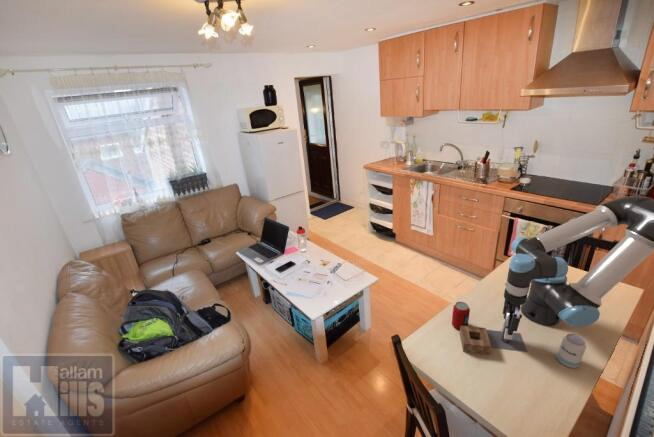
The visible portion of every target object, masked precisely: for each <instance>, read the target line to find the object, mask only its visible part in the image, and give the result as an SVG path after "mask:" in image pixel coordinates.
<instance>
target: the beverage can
mask: <svg viewBox="0 0 654 437" xmlns="http://www.w3.org/2000/svg"><path fill="white" fill-rule="evenodd" d="M470 310H471V309H470V307H469V304H467V303H466V302H464V301H457V302H456V303H455V304H454V305H453V308H452V316H451V325H452V327H453V328H455V329H456V330H459V331H460V326H469V320H470V314H471V313H470V312H471V311H470Z"/></svg>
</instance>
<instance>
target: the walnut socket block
mask: <svg viewBox="0 0 654 437" xmlns="http://www.w3.org/2000/svg"><path fill="white" fill-rule="evenodd" d="M486 330H487V328H486V327H478V326H469V325H468V326H460V330H459V337H460V342H461V348H462V352H463V353H469V354H470V353H471V354H479V355H486V356H490V355H491V354H490V353H491V349H492V348H491V345H490V341H489V338H488V334H487V331H486Z"/></svg>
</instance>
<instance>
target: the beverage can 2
mask: <svg viewBox="0 0 654 437" xmlns="http://www.w3.org/2000/svg"><path fill="white" fill-rule="evenodd" d="M562 337H563V338H562V340H561V344H560V346H559V349H558V352H557V355H556V357H557V360H558V361H559V363H561V364H563V365H564V366H566V367H568V368H572V369H573V368H578V367H580V365H581V362H582V360H583V357H584V354H585V352H586V348H587V344H586V340H585V339H584V338H583V337H582V336H580V335H579V334H576V333H568V334H566V335H565V336H562Z"/></svg>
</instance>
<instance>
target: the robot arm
mask: <svg viewBox="0 0 654 437" xmlns="http://www.w3.org/2000/svg"><path fill="white" fill-rule="evenodd" d="M619 225H624V226H625V225H627V227H626V228H625V229H624V230H625V236H624V237H623V238H622V239H621V240H620V241H619V242H617V243H616V244H615V246H613V248H611V249H610V250H609V251H608V252H607V253H606V254H605V255H604V256H603V257H602V258H601V259H600V260H599V261H598V262H597V263H596V264H595V265H594V266H593V267H592V268H591V269H590V270H589V271H588V272H587V273H586V274H585V275H583V277H581V279H579V280H578V281H577V282H571V283H569V284H567V282H568V277H567V275H568V271H569V265H568V262H567V261H566V260H565V259H564V258H562V257H560V256H550V255H548V254H547V253H549V252H551V251H553V250H556V249H558V248H560V247H562V246H565V245H568V244H571V243H573V242H574V241H577V240H579V239H582V238H584V237H586V236H589V235H591V234H594V233H596V232H598V231H601V230H604V229H605V228H608V227H610V228H615V227H618V226H619ZM510 246H511V250H512V251H513V253H514V255H512V256H511V258H510V262H509V265H508V266H509V267H508V273H507V278H506V282H505V283H504V285H505V288H504V291H503V292H504V293H503V298H504V303H503V309H502V315H503V322H502V327H501V331H502V332H503V328H504V323H505V318H506V313H507V311H508V313H509V319H508V326H505V327H506V330H505V335H504V339H510V340H512V336H513V333H518V328H519V325H520V321H521V319H522V318H523V317H525V318H526V319H527V320H529V321H531V322H532V323H535V324H537V325H541V326H546V327H552V326H556V325H558V324H559V323H560V321H561V320H562V321H563V322H564V323H565V324H566V325H568V326H570V327H572V328H583V327H587V326H590V325H592V324H594V323H595V322H597V321H598V320H599V319H600V316H601V313H600V310H599V308H600V307H601V306H602V298H603V297H605V296H606V295H607V294H608V293H609V292H610V291H612V289H614V287H615V286H616V285H617V284H619V282H621V281H622V280H623V279H625V278H626V276H628V275H629V274H630V273H631V272H632V271H634V269H636V268H637V267H638V265H640V264H641V263H642V262H643V261H644V260H645V259H646V258H647V257H649V256H650V255H651V254H652V253H653V252H654V199H653V198H652V197H649V196H648V197H647V196H645V195H644V196H640V195H634V196H633V195H632V196H625V197H619V198H615V199H612V200H609V201H606V202H603V203H601V204H599V205H597V206H596V207H595V209H594V210H592V211H590V212H587V213H586V214H583V215H581V216H579V217H575V218H574V219H572V220H569V221H567V222H565V223H563V224H560V225H558V226H555V227H553V228H551V229H548V230H547V231H544V232H542V233H540V234H537V235H535V236H532V237H531V238H527V237H524V236H522V237H520V236H519V237H516V238H515V239H514V240H513V241H512V242H511V245H510ZM520 311H521V313H520Z"/></svg>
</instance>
